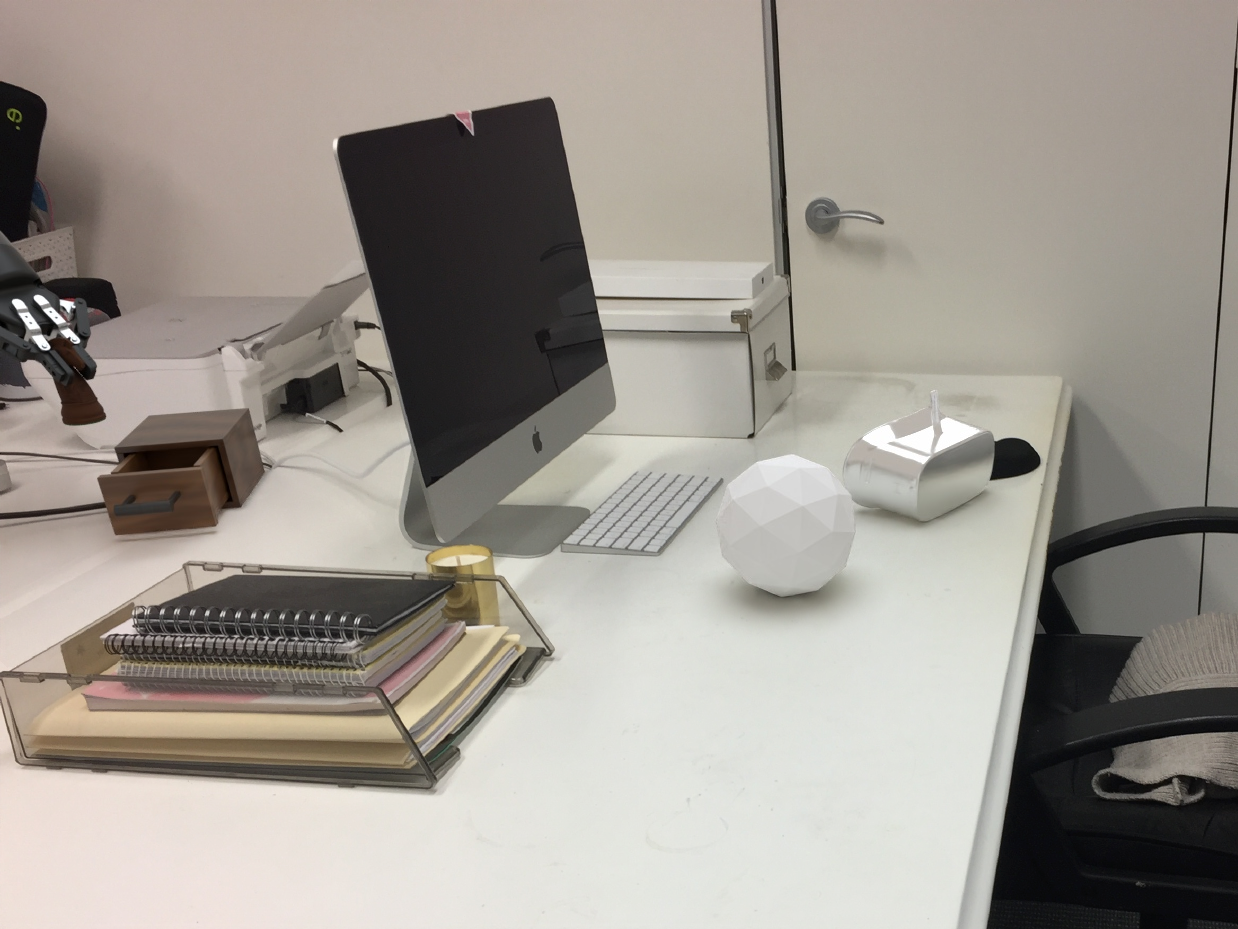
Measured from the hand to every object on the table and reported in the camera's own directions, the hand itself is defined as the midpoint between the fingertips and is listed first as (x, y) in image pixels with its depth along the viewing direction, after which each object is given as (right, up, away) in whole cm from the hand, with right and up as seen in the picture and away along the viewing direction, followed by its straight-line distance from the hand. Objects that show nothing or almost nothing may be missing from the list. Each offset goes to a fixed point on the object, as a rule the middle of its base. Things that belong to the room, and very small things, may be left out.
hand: (81, 377), depth 146 cm
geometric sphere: (+84, -26, -13) cm, 89 cm away
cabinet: (+4, -11, +19) cm, 22 cm away
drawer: (+7, -16, +7) cm, 19 cm away
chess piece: (-2, -5, +3) cm, 6 cm away
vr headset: (+100, -13, +10) cm, 101 cm away
